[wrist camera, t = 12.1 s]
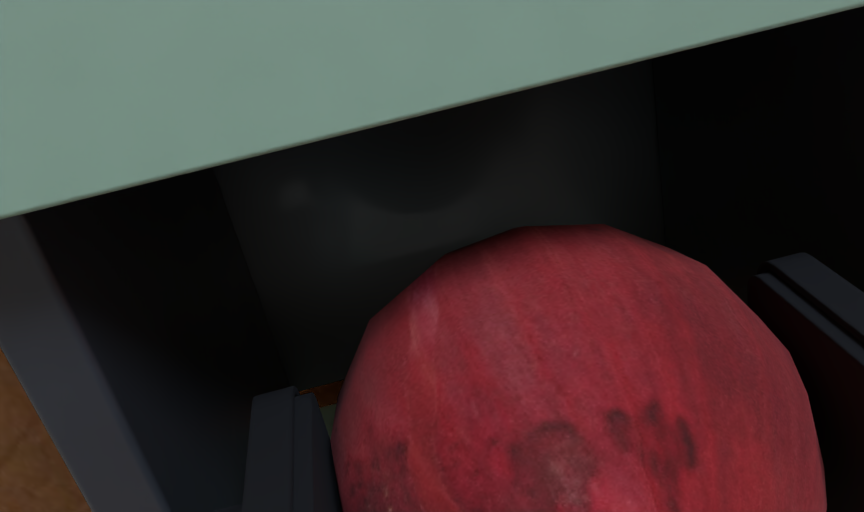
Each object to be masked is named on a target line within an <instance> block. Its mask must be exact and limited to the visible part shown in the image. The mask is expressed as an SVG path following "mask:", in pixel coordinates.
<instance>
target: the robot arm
mask: <svg viewBox="0 0 864 512" xmlns="http://www.w3.org/2000/svg"><path fill="white" fill-rule="evenodd" d="M747 303H748V307H749V308H750V309H751V310H752V311H753V312H754V313H755V314H756V315H757V316H758V317H759V318H760V319H761V320H762V321H763V322H764V324H765V325H766V326H767V327H768V328H769V329H770V330H771V332H772V333H773V334H774V335H775V336H776V337H777V338H778V340H779V341H780V342H781V343H782V344H783V345H784V346H785V348H786V349H787V350H788V351H789V352H790V355H791V357H792V359H793V362H794V364H795V366H796V368H797V371H798V373H799V375H800V378H801V380H802V382H803V384H804V387H805V389H806V391H807V394H808V398H809V402H810V406H811V411H812V415H813V420H814V424H815V429H816V433H817V437H818V442H819V446H820V451H821V455H822V459H823V464H824V472H825V485H826V498H827V511H826V512H864V292H862V291H861V290H859V289H858V288H857V287H855V286H854V285H852V284H851V283H849V282H848V281H847V280H845V279H844V278H842V277H841V276H840V275H838V274H837V273H835V272H834V271H832V270H831V269H830V268H828V267H827V266H825V265H824V264H823V263H821V262H820V261H818V260H817V259H815V258H814V257H813V256H811V255H809V254H807V253H805V252H804V253H797V254H793V255H789V256H785V257H781V258H778V259H774V260H770V261H766V262H763V263H762V264H760V265H759V268H758V270H757V275H754V276H751V277H750V278H749V280H748V284H747ZM214 512H342V509H341V503H340V498H339V492H338V487H337V481H336V474H335V468H334V461H333V455H332V449H331V442H330V437H329V434H328V431H327V428H326V426H325V423H324V420H323V417H322V414H321V411H320V408H319V405H318V402H317V400H316V397H315V395H314V393H313V392H311V393H307V394H304V395H300V393H299V391H298V389H297V388H296V387H295V386H291V387H288V388H284V389H280V390H276V391H272V392H269V393H265V394H261V395H257V396H255V397H253V401H252V409H251V419H250V429H249V440H248V450H247V460H246V470H245V481H244V491H243V501H242V503H241V504H237V505H234V506H230V507H226V508H223V509H219V510H215V511H214Z"/></svg>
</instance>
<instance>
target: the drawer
mask: <svg viewBox="0 0 864 512" xmlns="http://www.w3.org/2000/svg"><path fill="white" fill-rule="evenodd" d="M585 224H605V225H608V226H611V227H614V228H616V229H619V230H622V231H624V232H627V233H630V234H633V235H635V236H638V237H641V238H643V239H646V240H649V241H652V242H654V243H657V244H660V245H663V246H665V247H668V248H670V249H672V250H674V251H677V252H679V253H681V254H683V255H685V256H687V257H689V258H692V259H694V260H696V261H698V262H700V263H702V264H704V265H706V266H707V267H708V268H709V269H711V270H712V271H713V272H714V273H715V274H716V275H717V276H718V277H719V278H720V279H721V280H722V281H723V282H724V283H725V284H726V285H727V286H728V287H729V288H730V289H731V290H732V291H733V292H734V293H735V294H736V295H737V296H738V297H739V298H740V299H741V300H742V301H743V302H744V303H745V304H746V305H747V306H748V303H747V284H748V280H749V278H750V277H751V276H754V275H757V270H758V268H759V265H760V264H762V263H763V262H766V261H770V260H774V259H778V258H781V257H785V256H789V255H793V254H797V253H804V252H805V253H807V254H809V255H811V256H813V257H814V258H815V259H817V260H818V261H820V262H821V263H823V264H824V265H825V266H827V267H828V268H830V269H831V270H832V271H834V272H835V273H837V274H838V275H840V276H841V277H842V278H844V279H845V280H847V281H848V282H849V283H851V284H852V285H854V286H855V287H857V288H858V289H859V290H861V291H862V292H864V6H863V7H859V8H854V9H850V10H846V11H842V12H838V13H834V14H830V15H826V16H822V17H818V18H814V19H810V20H806V21H802V22H798V23H794V24H790V25H786V26H782V27H778V28H774V29H770V30H765V31H761V32H757V33H753V34H749V35H745V36H741V37H737V38H733V39H729V40H725V41H721V42H717V43H713V44H709V45H705V46H701V47H697V48H693V49H689V50H685V51H681V52H676V53H672V54H668V55H664V56H660V57H656V58H652V59H648V60H644V61H640V62H636V63H632V64H628V65H624V66H620V67H616V68H612V69H608V70H604V71H600V72H596V73H591V74H587V75H583V76H579V77H575V78H571V79H567V80H563V81H559V82H555V83H551V84H547V85H543V86H539V87H535V88H531V89H527V90H523V91H519V92H515V93H511V94H507V95H502V96H498V97H494V98H490V99H486V100H482V101H478V102H474V103H470V104H466V105H462V106H458V107H454V108H450V109H446V110H442V111H438V112H434V113H430V114H426V115H422V116H418V117H413V118H409V119H405V120H401V121H397V122H393V123H389V124H385V125H381V126H377V127H373V128H369V129H365V130H361V131H357V132H353V133H349V134H345V135H341V136H337V137H333V138H328V139H324V140H320V141H316V142H312V143H308V144H304V145H300V146H296V147H292V148H288V149H284V150H280V151H276V152H272V153H268V154H264V155H260V156H256V157H252V158H248V159H244V160H239V161H235V162H231V163H227V164H223V165H219V166H215V167H211V168H207V169H203V170H199V171H195V172H191V173H187V174H183V175H179V176H175V177H171V178H167V179H163V180H159V181H155V182H150V183H146V184H142V185H138V186H134V187H130V188H126V189H122V190H118V191H114V192H110V193H106V194H102V195H98V196H94V197H90V198H86V199H82V200H78V201H74V202H70V203H66V204H61V205H57V206H53V207H49V208H45V209H41V210H37V211H33V212H29V213H25V214H21V215H17V216H13V217H9V218H5V219H1V220H0V347H1V349H2V351H3V353H4V355H5V356H6V358H7V360H8V362H9V363H10V365H11V367H12V369H13V371H14V372H15V374H16V376H17V378H18V380H19V381H20V383H21V385H22V387H23V389H24V390H25V392H26V394H27V396H28V398H29V399H30V401H31V403H32V405H33V407H34V408H35V410H36V412H37V414H38V416H39V417H40V419H41V421H42V423H43V424H44V426H45V428H46V430H47V432H48V433H49V435H50V437H51V439H52V441H53V442H54V444H55V446H56V448H57V450H58V451H59V453H60V455H61V457H62V459H63V460H64V462H65V464H66V466H67V468H68V469H69V471H70V473H71V475H72V477H73V478H74V480H75V482H76V484H77V485H78V487H79V489H80V491H81V493H82V494H83V496H84V498H85V500H86V502H87V503H88V505H89V507H90V509H91V511H92V512H214V511H215V510H219V509H223V508H226V507H230V506H234V505H237V504H241V503H242V501H243V491H244V481H245V470H246V460H247V450H248V440H249V429H250V419H251V409H252V401H253V397H255V396H257V395H261V394H265V393H269V392H272V391H276V390H280V389H284V388H288V387H291V386H295V387H296V388H297V389H298V391H302V390H306V389H310V388H314V387H317V386H321V385H325V384H329V383H333V382H336V381H340V380H344V379H345V377H346V375H347V373H348V370H349V368H350V365H351V363H352V361H353V358H354V356H355V353H356V351H357V349H358V346H359V344H360V341H361V339H362V337H363V334H364V332H365V329H366V327H367V324H368V322H369V320H370V319H371V318H372V317H373V316H375V315H376V314H377V313H378V312H379V311H380V310H381V309H382V308H384V307H385V306H386V305H387V304H388V303H389V302H390V301H392V300H393V299H394V298H395V297H396V296H397V295H399V294H400V293H401V292H402V291H403V290H404V289H405V288H407V287H408V286H409V285H410V284H411V283H412V282H414V281H415V280H416V279H417V278H418V277H419V276H420V275H422V274H423V273H424V272H425V271H426V270H427V269H428V268H430V267H431V266H432V265H433V264H434V263H435V262H436V261H438V260H439V259H440V258H441V257H442V256H444V255H445V254H446V253H449V252H452V251H454V250H457V249H460V248H462V247H465V246H468V245H470V244H473V243H476V242H478V241H481V240H484V239H486V238H489V237H492V236H494V235H497V234H500V233H502V232H505V231H508V230H510V229H513V228H518V227H523V226H552V225H585ZM336 404H337V403H336ZM336 404H333V405H329V406H325V407H321V408H320V411H321V414H322V417H323V420H324V423H325V426H326V428H327V431H328V434H329V437H330V440H331V434H332V428H333V422H334V416H335V410H336Z"/></svg>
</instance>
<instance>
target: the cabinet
mask: <svg viewBox="0 0 864 512" xmlns="http://www.w3.org/2000/svg"><path fill="white" fill-rule="evenodd" d="M863 6H864V0H0V220H1V219H5V218H9V217H13V216H17V215H21V214H25V213H29V212H33V211H37V210H41V209H45V208H49V207H53V206H57V205H61V204H66V203H70V202H74V201H78V200H82V199H86V198H90V197H94V196H98V195H102V194H106V193H110V192H114V191H118V190H122V189H126V188H130V187H134V186H138V185H142V184H146V183H150V182H155V181H159V180H163V179H167V178H171V177H175V176H179V175H183V174H187V173H191V172H195V171H199V170H203V169H207V168H211V167H215V166H219V165H223V164H227V163H231V162H235V161H239V160H244V159H248V158H252V157H256V156H260V155H264V154H268V153H272V152H276V151H280V150H284V149H288V148H292V147H296V146H300V145H304V144H308V143H312V142H316V141H320V140H324V139H328V138H333V137H337V136H341V135H345V134H349V133H353V132H357V131H361V130H365V129H369V128H373V127H377V126H381V125H385V124H389V123H393V122H397V121H401V120H405V119H409V118H413V117H418V116H422V115H426V114H430V113H434V112H438V111H442V110H446V109H450V108H454V107H458V106H462V105H466V104H470V103H474V102H478V101H482V100H486V99H490V98H494V97H498V96H502V95H507V94H511V93H515V92H519V91H523V90H527V89H531V88H535V87H539V86H543V85H547V84H551V83H555V82H559V81H563V80H567V79H571V78H575V77H579V76H583V75H587V74H591V73H596V72H600V71H604V70H608V69H612V68H616V67H620V66H624V65H628V64H632V63H636V62H640V61H644V60H648V59H652V58H656V57H660V56H664V55H668V54H672V53H676V52H681V51H685V50H689V49H693V48H697V47H701V46H705V45H709V44H713V43H717V42H721V41H725V40H729V39H733V38H737V37H741V36H745V35H749V34H753V33H757V32H761V31H765V30H770V29H774V28H778V27H782V26H786V25H790V24H794V23H798V22H802V21H806V20H810V19H814V18H818V17H822V16H826V15H830V14H834V13H838V12H842V11H846V10H850V9H854V8H859V7H863Z"/></svg>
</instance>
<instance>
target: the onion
mask: <svg viewBox="0 0 864 512" xmlns="http://www.w3.org/2000/svg"><path fill="white" fill-rule="evenodd" d="M330 442H331V449H332V455H333V461H334V468H335V474H336V481H337V487H338V492H339V498H340V503H341V509H342V512H826V511H827V498H826V485H825V472H824V464H823V459H822V455H821V451H820V446H819V442H818V437H817V433H816V429H815V424H814V420H813V415H812V411H811V406H810V402H809V398H808V394H807V391H806V389H805V387H804V384H803V382H802V380H801V378H800V375H799V373H798V371H797V368H796V366H795V364H794V362H793V359H792V357H791V355H790V352H789V351H788V350H787V349H786V348H785V346H784V345H783V344H782V343H781V342H780V341H779V340H778V338H777V337H776V336H775V335H774V334H773V333H772V332H771V330H770V329H769V328H768V327H767V326H766V325H765V324H764V322H763V321H762V320H761V319H760V318H759V317H758V316H757V315H756V314H755V313H754V312H753V311H752V310H751V309H750V308H749V307H748V306H747V305H746V304H745V303H744V302H743V301H742V300H741V299H740V298H739V297H738V296H737V295H736V294H735V293H734V292H733V291H732V290H731V289H730V288H729V287H728V286H727V285H726V284H725V283H724V282H723V281H722V280H721V279H720V278H719V277H718V276H717V275H716V274H715V273H714V272H713V271H712V270H711V269H709V268H708V267H707V266H706V265H704V264H702V263H700V262H698V261H696V260H694V259H692V258H689V257H687V256H685V255H683V254H681V253H679V252H677V251H674V250H672V249H670V248H668V247H665V246H663V245H660V244H657V243H654V242H652V241H649V240H646V239H643V238H641V237H638V236H635V235H633V234H630V233H627V232H624V231H622V230H619V229H616V228H614V227H611V226H608V225H605V224H585V225H552V226H523V227H518V228H513V229H510V230H508V231H505V232H502V233H500V234H497V235H494V236H492V237H489V238H486V239H484V240H481V241H478V242H476V243H473V244H470V245H468V246H465V247H462V248H460V249H457V250H454V251H452V252H449V253H446V254H445V255H444V256H442V257H441V258H440V259H439V260H438V261H436V262H435V263H434V264H433V265H432V266H431V267H430V268H428V269H427V270H426V271H425V272H424V273H423V274H422V275H420V276H419V277H418V278H417V279H416V280H415V281H414V282H412V283H411V284H410V285H409V286H408V287H407V288H405V289H404V290H403V291H402V292H401V293H400V294H399V295H397V296H396V297H395V298H394V299H393V300H392V301H390V302H389V303H388V304H387V305H386V306H385V307H384V308H382V309H381V310H380V311H379V312H378V313H377V314H376V315H375V316H373V317H372V318H371V319H370V320H369V322H368V324H367V327H366V329H365V332H364V334H363V337H362V339H361V341H360V344H359V346H358V349H357V351H356V353H355V356H354V358H353V361H352V363H351V365H350V368H349V370H348V373H347V375H346V377H345V380H344V382H343V385H342V387H341V389H340V392H339V394H338V398H337V404H336V410H335V416H334V422H333V428H332V434H331V440H330Z"/></svg>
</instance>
